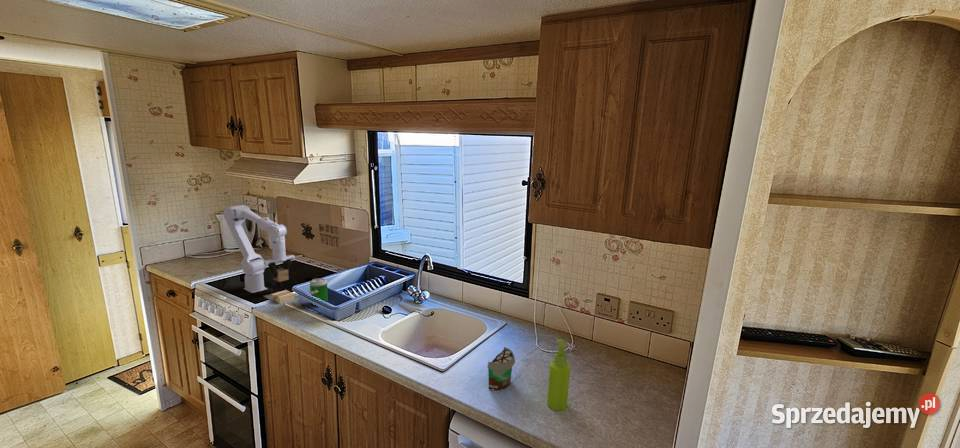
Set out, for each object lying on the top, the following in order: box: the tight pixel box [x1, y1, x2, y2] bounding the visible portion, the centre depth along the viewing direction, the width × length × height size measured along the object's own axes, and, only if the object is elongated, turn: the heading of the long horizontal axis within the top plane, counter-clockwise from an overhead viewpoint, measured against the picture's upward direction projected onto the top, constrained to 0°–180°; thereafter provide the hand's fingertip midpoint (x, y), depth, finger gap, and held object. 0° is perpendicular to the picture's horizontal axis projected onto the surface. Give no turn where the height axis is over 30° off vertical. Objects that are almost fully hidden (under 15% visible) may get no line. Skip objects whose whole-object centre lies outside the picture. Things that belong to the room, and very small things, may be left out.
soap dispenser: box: [546, 338, 571, 411], centre depth 121 cm, size 6×7×20 cm
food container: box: [487, 346, 516, 391], centre depth 130 cm, size 12×6×10 cm, turn 151°
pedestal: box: [271, 289, 295, 305], centre depth 192 cm, size 7×7×3 cm
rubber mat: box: [263, 289, 299, 305], centre depth 196 cm, size 15×11×1 cm
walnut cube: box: [272, 267, 290, 283], centre depth 199 cm, size 5×5×5 cm
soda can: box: [309, 277, 329, 302], centre depth 189 cm, size 8×8×12 cm
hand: (280, 276), depth 199 cm, fingers closed on walnut cube, 5 cm apart
